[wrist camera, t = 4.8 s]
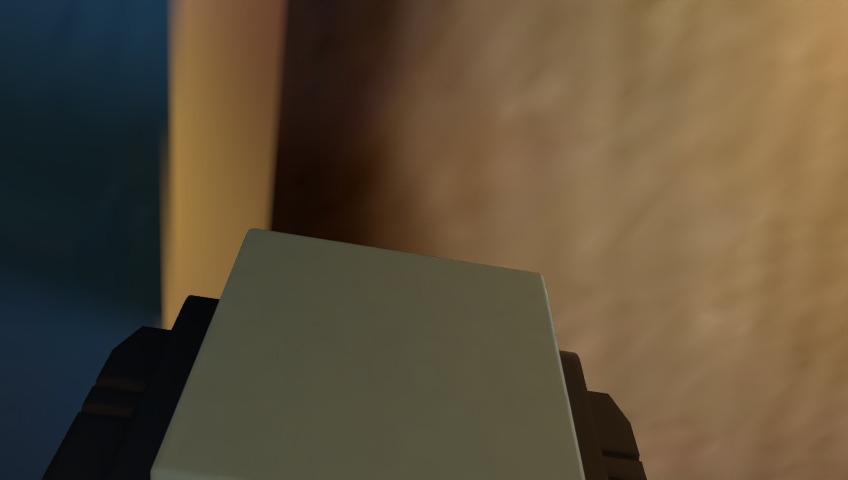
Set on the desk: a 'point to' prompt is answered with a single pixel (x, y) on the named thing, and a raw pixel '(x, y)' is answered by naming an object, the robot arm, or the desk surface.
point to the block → (372, 372)
